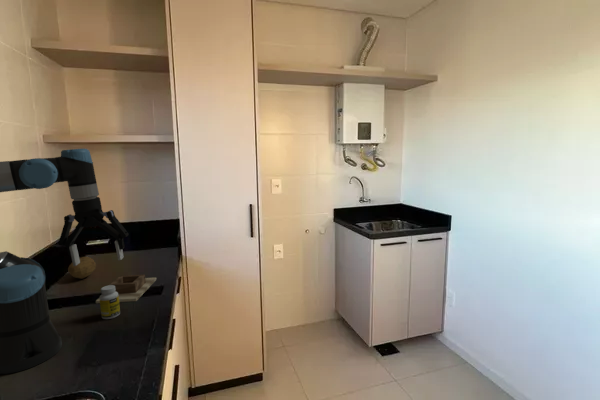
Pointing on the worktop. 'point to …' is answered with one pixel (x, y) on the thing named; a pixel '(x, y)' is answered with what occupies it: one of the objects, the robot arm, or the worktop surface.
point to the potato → (82, 268)
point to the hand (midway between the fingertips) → (99, 261)
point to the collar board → (131, 287)
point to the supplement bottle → (109, 302)
